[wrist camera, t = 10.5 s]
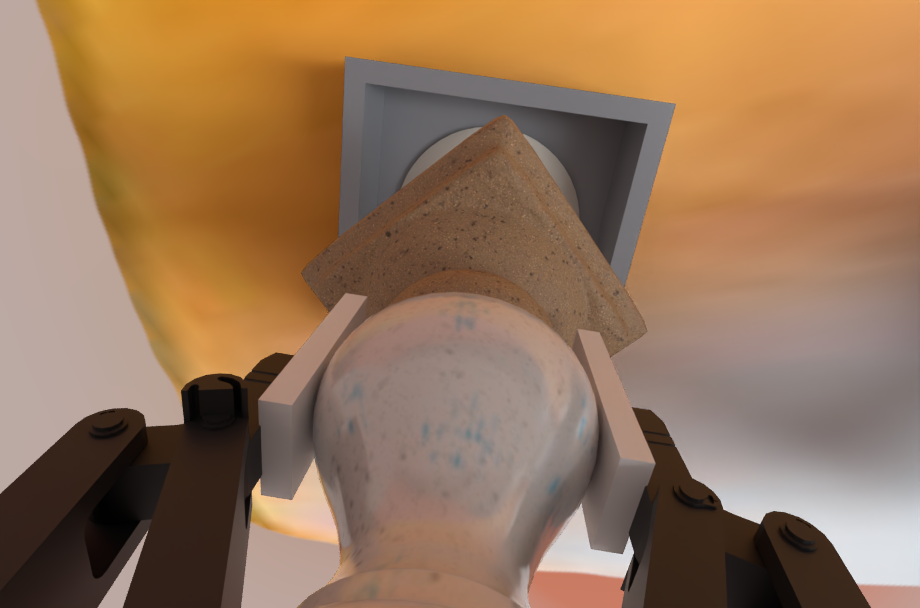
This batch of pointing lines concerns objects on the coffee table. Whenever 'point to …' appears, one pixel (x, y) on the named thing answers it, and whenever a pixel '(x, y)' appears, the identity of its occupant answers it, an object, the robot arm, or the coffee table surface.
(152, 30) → the coffee table surface
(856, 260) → the coffee table surface
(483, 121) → the walled bin
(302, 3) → the coffee table surface
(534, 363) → the candle holder
